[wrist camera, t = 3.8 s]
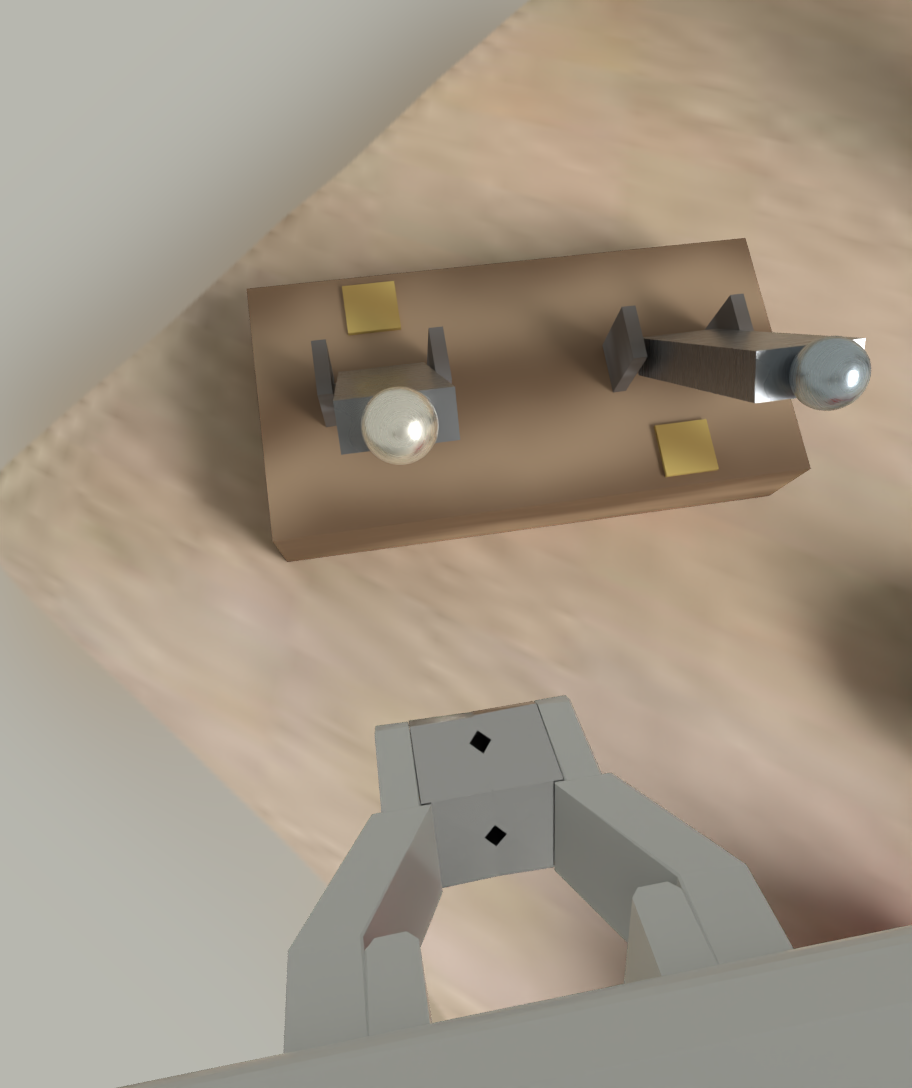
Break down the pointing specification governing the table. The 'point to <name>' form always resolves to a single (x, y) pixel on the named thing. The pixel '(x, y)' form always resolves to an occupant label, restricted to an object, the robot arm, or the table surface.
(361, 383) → the cream knob lever
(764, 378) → the grey knob lever
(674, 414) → the switch box
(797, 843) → the table surface
